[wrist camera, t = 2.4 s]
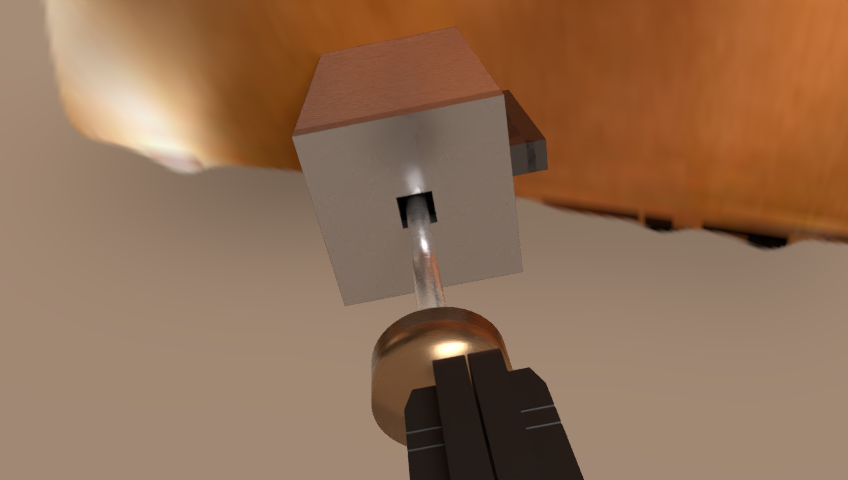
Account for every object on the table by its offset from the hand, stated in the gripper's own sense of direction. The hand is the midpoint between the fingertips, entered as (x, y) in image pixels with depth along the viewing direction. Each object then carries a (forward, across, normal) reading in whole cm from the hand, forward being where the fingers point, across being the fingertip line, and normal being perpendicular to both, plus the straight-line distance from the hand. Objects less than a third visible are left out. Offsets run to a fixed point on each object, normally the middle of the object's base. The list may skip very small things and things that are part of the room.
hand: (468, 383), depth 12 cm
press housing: (+39, -1, +5) cm, 39 cm away
